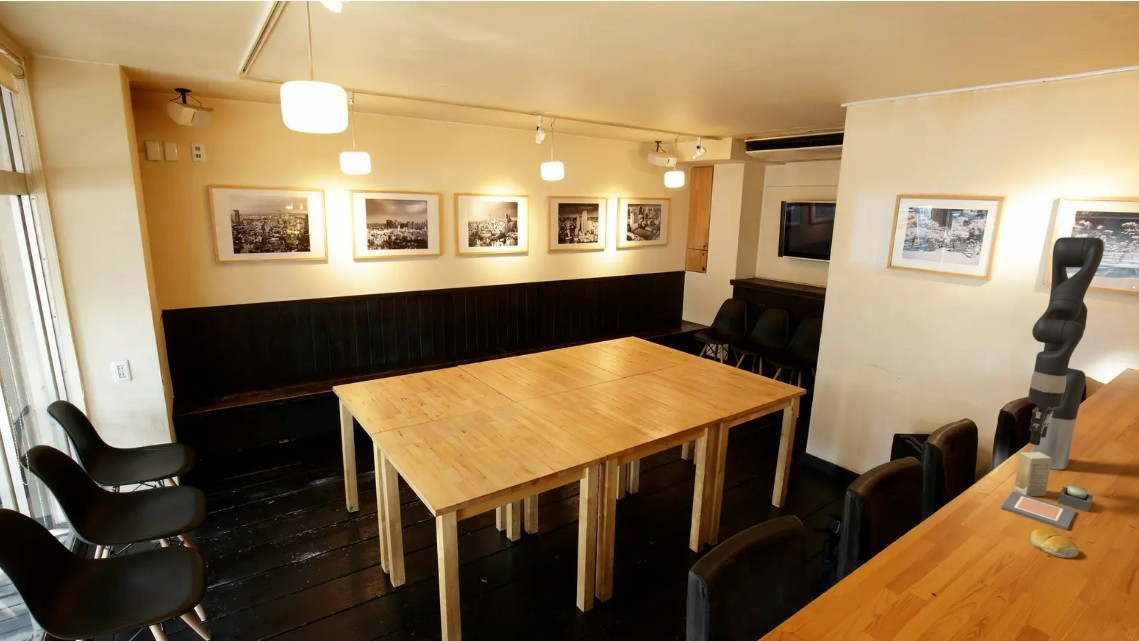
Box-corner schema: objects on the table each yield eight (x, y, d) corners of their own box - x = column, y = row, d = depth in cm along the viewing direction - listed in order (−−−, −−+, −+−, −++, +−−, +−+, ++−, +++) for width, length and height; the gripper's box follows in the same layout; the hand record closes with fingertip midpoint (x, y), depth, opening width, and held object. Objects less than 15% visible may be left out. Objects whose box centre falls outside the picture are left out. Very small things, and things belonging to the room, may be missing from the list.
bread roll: (1048, 536, 141) (1050, 522, 140) (1084, 557, 132) (1087, 543, 131) (1019, 538, 140) (1022, 524, 139) (1054, 560, 131) (1057, 545, 130)
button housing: (1061, 495, 160) (1063, 486, 160) (1091, 504, 155) (1093, 495, 155) (1057, 502, 156) (1059, 494, 156) (1088, 512, 151) (1089, 502, 151)
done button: (1068, 489, 158) (1069, 484, 158) (1086, 495, 155) (1088, 489, 155) (1065, 494, 156) (1066, 488, 155) (1084, 499, 153) (1085, 493, 152)
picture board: (1012, 493, 161) (1012, 490, 161) (1075, 512, 151) (1076, 509, 151) (1001, 508, 153) (1001, 505, 153) (1067, 530, 143) (1067, 527, 143)
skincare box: (1033, 488, 164) (1040, 451, 162) (1046, 496, 160) (1053, 457, 158) (1012, 489, 164) (1019, 451, 162) (1025, 496, 160) (1031, 458, 157)
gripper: (1035, 380, 163) (1026, 430, 166) (1024, 389, 154) (1015, 442, 157) (1069, 386, 157) (1058, 438, 161) (1059, 396, 148) (1049, 451, 152)
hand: (1037, 440), depth 159 cm, fingers open, 8 cm apart
